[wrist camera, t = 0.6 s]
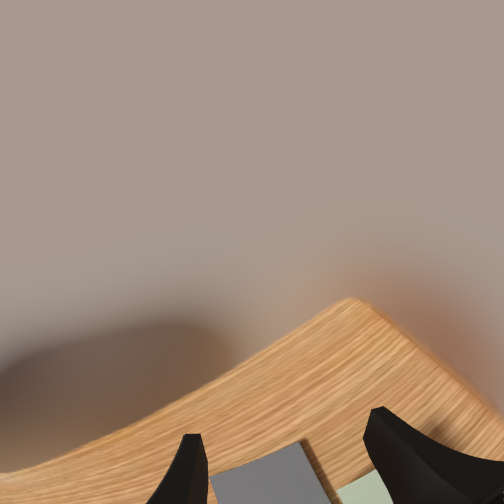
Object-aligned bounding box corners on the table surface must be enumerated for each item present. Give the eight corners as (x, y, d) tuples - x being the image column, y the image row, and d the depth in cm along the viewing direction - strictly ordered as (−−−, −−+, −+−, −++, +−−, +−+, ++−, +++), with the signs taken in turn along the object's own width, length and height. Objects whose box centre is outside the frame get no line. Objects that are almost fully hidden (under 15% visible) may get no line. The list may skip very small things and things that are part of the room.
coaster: (343, 523, 16) (342, 524, 15) (243, 555, 15) (240, 556, 15) (299, 442, 23) (298, 441, 23) (211, 477, 23) (209, 476, 23)
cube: (416, 498, 15) (424, 502, 12) (365, 527, 15) (362, 537, 11) (392, 460, 19) (395, 456, 15) (342, 488, 18) (336, 490, 15)
